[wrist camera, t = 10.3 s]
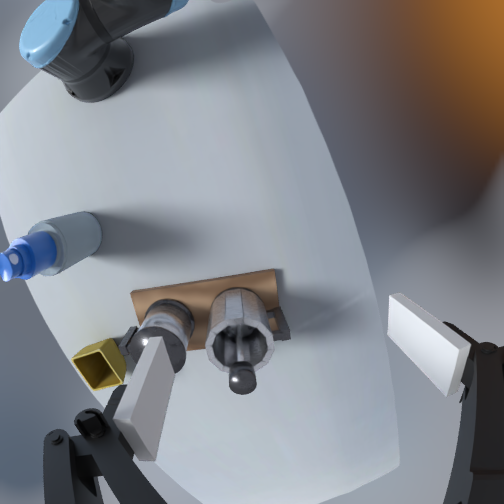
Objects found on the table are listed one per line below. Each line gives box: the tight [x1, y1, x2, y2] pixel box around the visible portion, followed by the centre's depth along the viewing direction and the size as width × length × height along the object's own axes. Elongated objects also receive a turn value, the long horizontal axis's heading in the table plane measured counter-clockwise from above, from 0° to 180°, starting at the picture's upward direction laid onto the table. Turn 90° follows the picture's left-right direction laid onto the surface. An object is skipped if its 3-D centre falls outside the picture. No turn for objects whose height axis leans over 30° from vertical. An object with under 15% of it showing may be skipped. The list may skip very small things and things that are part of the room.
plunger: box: [223, 324, 257, 395], centre depth 43 cm, size 7×7×19 cm
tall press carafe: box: [205, 287, 291, 373], centre depth 49 cm, size 10×13×13 cm
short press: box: [118, 298, 195, 373], centre depth 46 cm, size 10×13×16 cm
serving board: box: [130, 269, 279, 351], centre depth 55 cm, size 14×28×2 cm, turn 99°
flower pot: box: [71, 338, 126, 391], centre depth 52 cm, size 9×9×9 cm
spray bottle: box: [0, 212, 102, 281], centre depth 39 cm, size 9×9×25 cm
